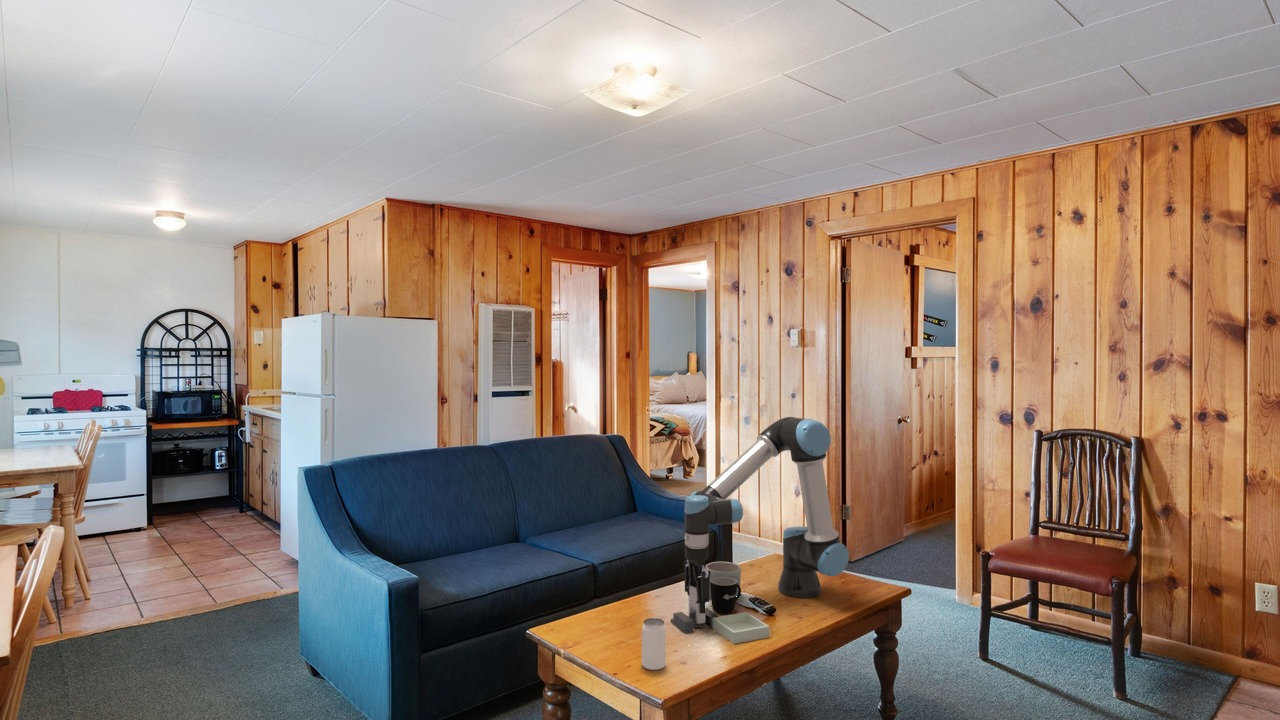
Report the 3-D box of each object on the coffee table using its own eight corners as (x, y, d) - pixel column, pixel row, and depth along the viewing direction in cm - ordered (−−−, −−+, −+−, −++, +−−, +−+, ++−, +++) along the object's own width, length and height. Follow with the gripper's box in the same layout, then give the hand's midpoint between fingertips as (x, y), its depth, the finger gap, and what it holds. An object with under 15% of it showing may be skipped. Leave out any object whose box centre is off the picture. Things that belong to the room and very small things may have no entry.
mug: (721, 618, 222) (722, 586, 222) (704, 609, 230) (704, 579, 230) (749, 610, 229) (749, 580, 229) (731, 602, 236) (731, 573, 236)
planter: (740, 605, 234) (740, 573, 234) (703, 602, 236) (704, 570, 236) (741, 592, 246) (741, 562, 246) (706, 590, 249) (706, 560, 249)
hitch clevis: (703, 616, 223) (703, 605, 223) (719, 627, 214) (719, 616, 214) (670, 622, 219) (670, 611, 219) (685, 633, 210) (685, 622, 209)
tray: (746, 622, 219) (746, 612, 219) (769, 637, 207) (769, 626, 207) (712, 628, 214) (712, 617, 214) (733, 643, 202) (733, 632, 202)
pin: (699, 620, 219) (699, 583, 219) (706, 625, 214) (706, 587, 214) (686, 622, 217) (686, 585, 217) (693, 628, 213) (693, 589, 213)
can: (651, 673, 183) (651, 628, 183) (637, 664, 188) (637, 620, 188) (670, 666, 187) (670, 622, 187) (655, 658, 192) (656, 615, 192)
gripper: (673, 540, 222) (673, 611, 222) (699, 554, 206) (699, 631, 206) (694, 537, 225) (694, 608, 225) (721, 551, 209) (721, 627, 209)
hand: (696, 619), depth 216 cm, fingers closed on pin, 5 cm apart
